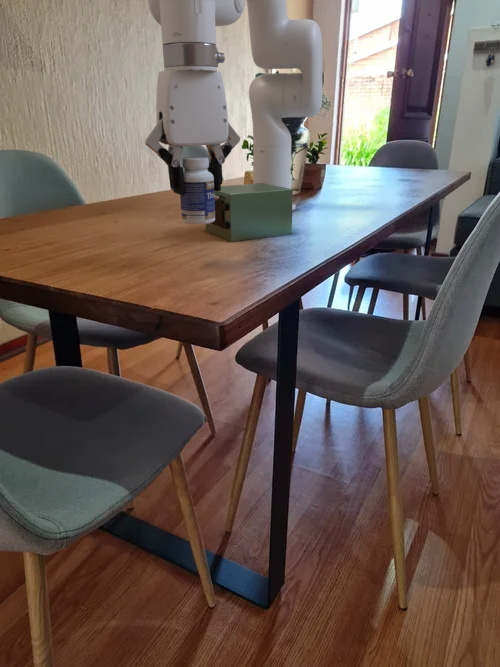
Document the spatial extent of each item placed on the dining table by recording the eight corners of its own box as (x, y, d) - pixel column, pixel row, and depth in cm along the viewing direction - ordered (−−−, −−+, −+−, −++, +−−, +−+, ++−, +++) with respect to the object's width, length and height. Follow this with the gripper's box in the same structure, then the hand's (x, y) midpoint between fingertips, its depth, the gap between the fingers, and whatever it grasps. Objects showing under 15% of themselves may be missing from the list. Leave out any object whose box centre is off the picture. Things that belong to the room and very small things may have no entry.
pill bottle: (214, 225, 79) (212, 159, 75) (180, 225, 79) (175, 159, 75) (216, 218, 84) (213, 156, 80) (183, 218, 84) (179, 156, 80)
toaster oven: (200, 231, 108) (198, 187, 104) (262, 224, 115) (262, 182, 111) (225, 242, 98) (224, 194, 95) (291, 234, 105) (292, 189, 101)
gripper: (232, 64, 79) (234, 184, 86) (123, 61, 71) (136, 193, 79) (255, 60, 73) (256, 190, 80) (139, 56, 65) (152, 200, 73)
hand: (197, 190), depth 79 cm, fingers closed on pill bottle, 5 cm apart
